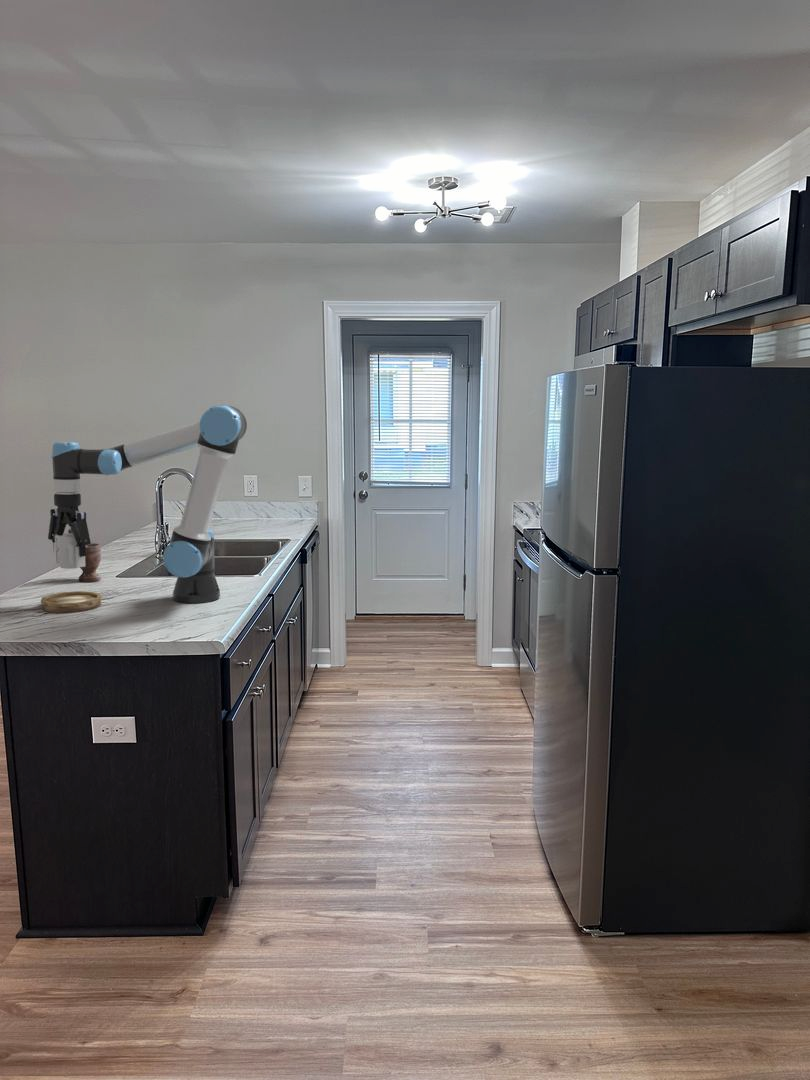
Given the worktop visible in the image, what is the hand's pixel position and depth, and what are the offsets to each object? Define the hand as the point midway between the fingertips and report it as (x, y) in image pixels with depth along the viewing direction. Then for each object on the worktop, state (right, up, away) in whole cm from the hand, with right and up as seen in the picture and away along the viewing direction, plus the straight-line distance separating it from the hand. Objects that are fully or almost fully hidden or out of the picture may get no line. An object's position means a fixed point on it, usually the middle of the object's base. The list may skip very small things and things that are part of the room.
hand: (69, 564), depth 236 cm
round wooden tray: (0, -13, +2) cm, 13 cm away
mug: (0, -1, 0) cm, 1 cm away
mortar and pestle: (-10, -7, +38) cm, 40 cm away
